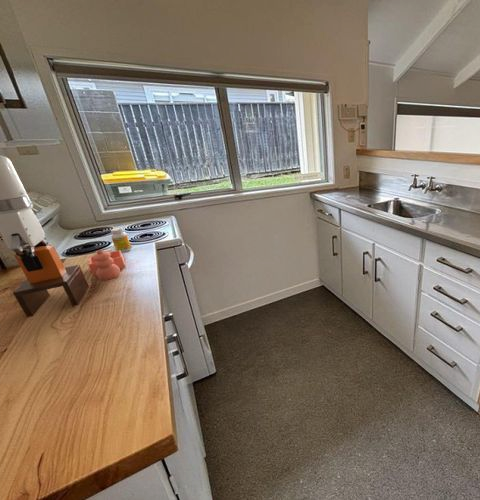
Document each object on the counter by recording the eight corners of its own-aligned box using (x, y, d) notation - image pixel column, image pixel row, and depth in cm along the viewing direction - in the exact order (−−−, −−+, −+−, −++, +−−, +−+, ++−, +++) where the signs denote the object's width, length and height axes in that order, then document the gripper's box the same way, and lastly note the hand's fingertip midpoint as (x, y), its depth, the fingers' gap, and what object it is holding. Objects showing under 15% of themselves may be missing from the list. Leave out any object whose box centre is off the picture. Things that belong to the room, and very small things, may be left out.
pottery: (93, 266, 108) (83, 243, 104) (124, 259, 114) (115, 236, 110) (92, 284, 95) (80, 257, 91) (126, 275, 101) (116, 249, 97)
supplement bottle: (117, 253, 120) (109, 232, 116) (116, 250, 124) (107, 229, 120) (132, 249, 123) (125, 228, 119) (131, 246, 127) (123, 226, 123)
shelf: (27, 317, 79) (12, 292, 75) (44, 296, 89) (32, 273, 86) (78, 304, 83) (66, 281, 80) (89, 286, 94) (79, 264, 91)
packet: (29, 283, 80) (13, 254, 76) (35, 277, 83) (20, 250, 80) (62, 277, 83) (48, 248, 80) (66, 271, 86) (53, 244, 83)
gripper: (6, 201, 80) (36, 257, 87) (-30, 214, 66) (9, 280, 73) (42, 197, 83) (68, 251, 90) (15, 209, 69) (48, 272, 76)
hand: (41, 264), depth 81 cm, fingers open, 7 cm apart
